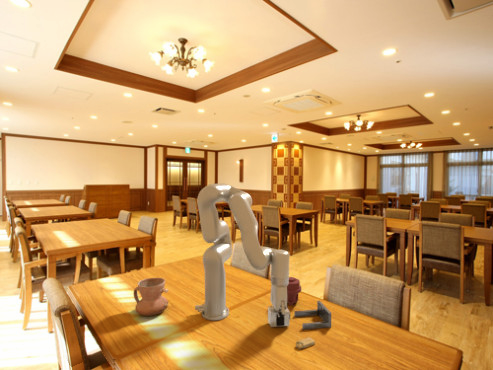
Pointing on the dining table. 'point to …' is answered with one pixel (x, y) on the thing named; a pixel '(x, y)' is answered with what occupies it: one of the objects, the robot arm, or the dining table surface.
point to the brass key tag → (305, 343)
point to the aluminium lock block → (273, 317)
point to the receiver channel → (320, 311)
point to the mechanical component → (293, 290)
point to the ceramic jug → (151, 296)
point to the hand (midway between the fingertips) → (278, 321)
